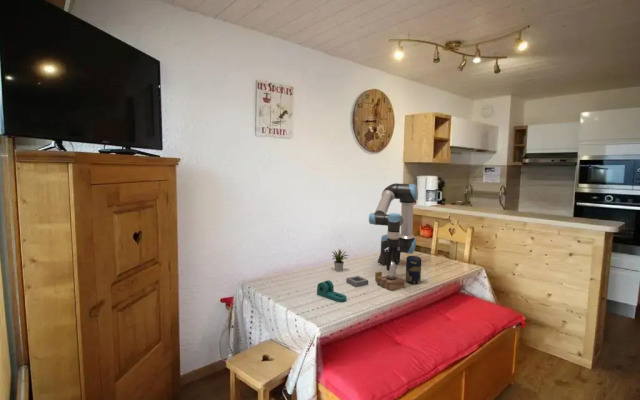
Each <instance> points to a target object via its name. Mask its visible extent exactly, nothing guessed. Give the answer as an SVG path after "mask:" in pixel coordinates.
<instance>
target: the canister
mask: <svg viewBox="0 0 640 400" xmlns="http://www.w3.org/2000/svg"><path fill="white" fill-rule="evenodd" d="M405 263H406V264H405V282H406V283H409V284H413V285H414V284H415V285H417V284H420V283H421V275H422V258H421V257H420V256H416V255H408V256H406V262H405Z"/></svg>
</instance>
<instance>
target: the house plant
mask: <svg viewBox="0 0 640 400" xmlns="http://www.w3.org/2000/svg"><path fill="white" fill-rule="evenodd" d="M343 251H344V250H341V248H339V249H338V252H337V250H334V251H332V254H333V255H332V260H335V261H334V262H333V265H334V271H335V272H343V267H344V260H348V258H349V257H348V254H346V253H347V250H346V251H344V252H343ZM346 256H347V257H346Z"/></svg>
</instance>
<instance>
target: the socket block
mask: <svg viewBox="0 0 640 400" xmlns="http://www.w3.org/2000/svg"><path fill="white" fill-rule="evenodd" d="M376 282H377V283H376V284H377V286H378V287H381V288H383V289H385V290H388V291H389V292H392V291H396V290H397V291H398V290H401V288H402V289H405V285H406V284H405V283H406V279H403V278H400V277H398V276H395V278H394V280H389V279H388V275H387V274H386V275H382V277H378V280H377V281H376Z"/></svg>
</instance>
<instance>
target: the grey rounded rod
mask: <svg viewBox="0 0 640 400" xmlns="http://www.w3.org/2000/svg"><path fill="white" fill-rule="evenodd" d="M390 265H391V276H389V275H388V279H389V280H394V278H395V261H391V264H390Z"/></svg>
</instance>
